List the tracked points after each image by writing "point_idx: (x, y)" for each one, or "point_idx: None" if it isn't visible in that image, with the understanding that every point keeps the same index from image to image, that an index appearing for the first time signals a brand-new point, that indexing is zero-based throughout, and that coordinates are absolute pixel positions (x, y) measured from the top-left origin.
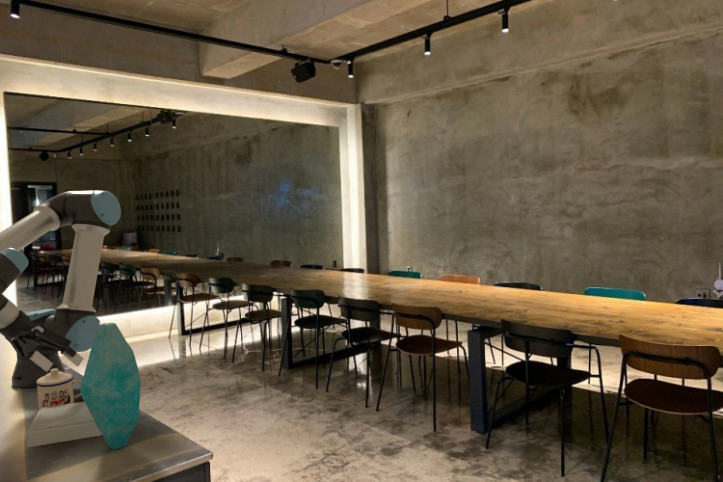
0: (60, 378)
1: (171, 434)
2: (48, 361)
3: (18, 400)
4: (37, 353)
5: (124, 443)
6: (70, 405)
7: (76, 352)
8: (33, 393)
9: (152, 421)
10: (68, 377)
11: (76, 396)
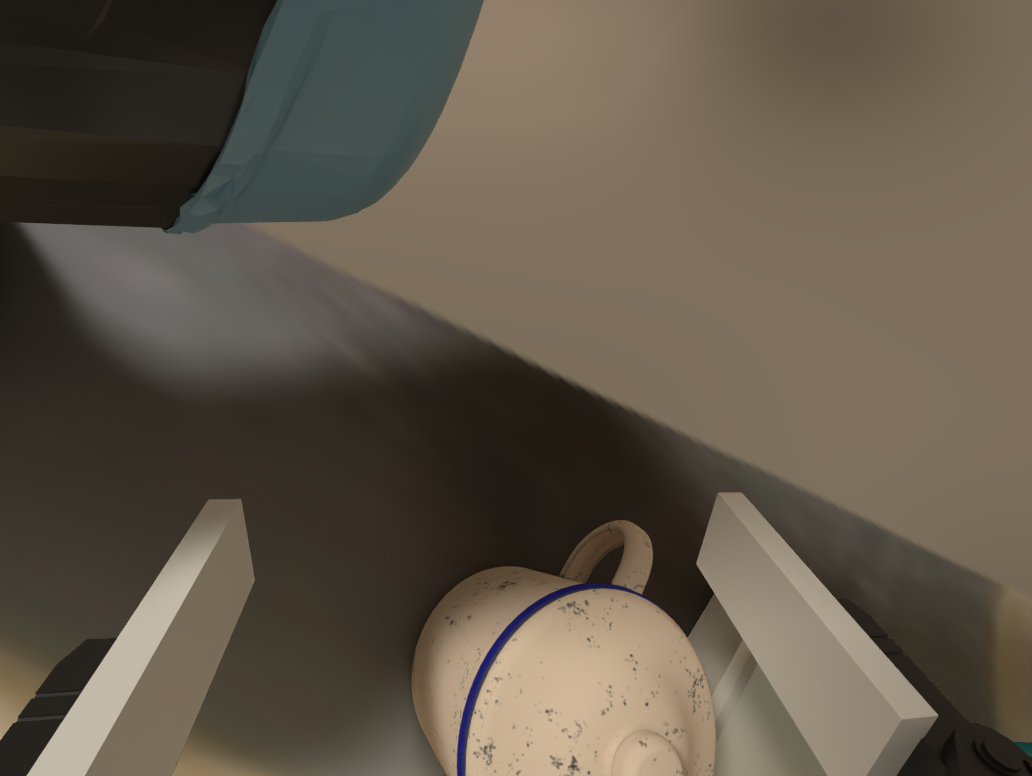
0: (701, 753)
1: (1009, 599)
2: (216, 557)
3: None
4: (107, 772)
5: None
6: (746, 742)
7: (809, 571)
8: (21, 543)
9: (914, 548)
10: (703, 679)
11: (587, 575)
